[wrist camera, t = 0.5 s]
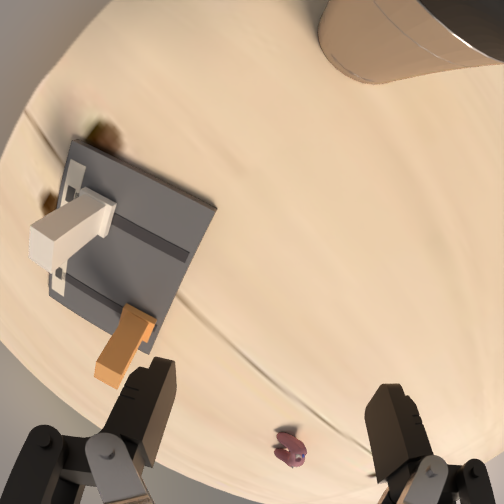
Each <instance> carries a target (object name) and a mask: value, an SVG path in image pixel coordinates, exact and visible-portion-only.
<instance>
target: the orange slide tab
mask: <svg viewBox="0 0 504 504" xmlns="http://www.w3.org/2000/svg"><path fill="white" fill-rule="evenodd" d="M156 321H157V319H156V318H154V317H152V316H150V315H148V314H146V313H144V312H142V311H140V310H138V309H137V308H135V307H133V306H131V305H129V304H127V303H126V304H125V306H124V307H123V310H122V314H121V317H120V321H119V325H118V327H117V329H116V330H115V332H114V334H113V335H112V337H111V338H110V340H109V341H108V343H107V345H106V346H105V348H104V349H103V351H102V353H101V354H100V356H99V358H98V359H97V361H96V366H95V373H94V377H95V378H97V379H99V380H100V381H102V382H104V383H106V384H108V385H109V386H111V387H113V388H115V389H118V387H119V385H120V383H121V381H122V379H123V377H124V375H125V373H126V371H127V369H128V367H129V365H130V363H131V361H132V359H133V357H134V355H135V353H136V351H137V349H138V347H139V346H140V344H141V342H142V341H144V342H146V343H147V342H148V340H149V338H150V336H151V333H152V331H153V328H154V326H155V323H156Z"/></svg>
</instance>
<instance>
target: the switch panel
mask: <svg viewBox="0 0 504 504" xmlns="http://www.w3.org/2000/svg"><path fill="white" fill-rule="evenodd" d="M84 187H87V188H89V189H91V190H93V191H95V192H96V193H98V194H100V195H102V196H104V197H106V198H108V199H109V200H111V201H113V202H115V203H117V204H116V208H115V211H114V214H113V218H112V221H111V225H110V229H109V232H108V235H107V236H105V237H104V238H102V237H101V236H99V235H96V236H95V237H94V238H93V239H91V240H90V241H89V242H88V243H87V244H85V245H84V246H83V247H82V248H81V249H79V250H78V251H77V252H76V253H75V254H73V255H72V256H71V257H70V258H69V259H68V260H66V261H65V262H64V263H63V264H62V265H61V266H60V267H59V268H57V269H56V270H55V271H54V272H53V273H52V274H50V278H49V296H50V297H52V298H53V299H55V300H56V301H58V302H59V303H61V304H62V305H64V306H65V307H67V308H68V309H70V310H71V311H73V312H74V313H76V314H77V315H79V316H81V317H82V318H84V319H85V320H87V321H89V322H90V323H92V324H94V325H95V326H97V327H99V328H100V329H102V330H104V331H105V332H107V333H109V334H111V335H113V334H114V332H115V330H116V329H117V327H118V325H119V321H120V317H121V314H122V310H123V307H124V306H125V304H126V303H127V304H129V305H131V306H133V307H135V308H137V309H138V310H140V311H142V312H144V313H146V314H148V315H150V316H152V317H154V318H156V319H157V321H156V323H155V326H154V328H153V331H152V333H151V336H150V338H149V340H148V342H147V343H146V342H144V341H142V342H141V344H140V346H139V347H138V350H140V351H142V352H144V353H146V354H148V355H149V354H150V351H151V349H152V347H153V345H154V342H155V340H156V338H157V335H158V333H159V331H160V328H161V326H162V324H163V322H164V319H165V317H166V315H167V313H168V310H169V308H170V306H171V304H172V302H173V299H174V297H175V295H176V293H177V291H178V289H179V286H180V284H181V282H182V280H183V278H184V276H185V274H186V271H187V269H188V267H189V265H190V263H191V261H192V259H193V257H194V255H195V253H196V251H197V249H198V247H199V244H200V242H201V240H202V238H203V236H204V234H205V232H206V230H207V228H208V226H209V224H210V222H211V220H212V218H213V216H214V214H215V213H216V211H217V208H215V207H213V206H211V205H209V204H207V203H205V202H203V201H201V200H199V199H197V198H196V197H194V196H192V195H190V194H188V193H186V192H184V191H182V190H180V189H178V188H176V187H174V186H172V185H170V184H168V183H166V182H164V181H162V180H160V179H158V178H156V177H154V176H152V175H150V174H148V173H146V172H144V171H142V170H140V169H138V168H136V167H134V166H132V165H130V164H128V163H126V162H124V161H122V160H120V159H117V158H115V157H113V156H111V155H109V154H107V153H105V152H103V151H101V150H99V149H97V148H95V147H93V146H91V145H88V144H86V143H84V142H82V141H80V140H78V139H76V140H72V142H71V146H70V150H69V153H68V157H67V161H66V165H65V170H64V174H63V179H62V183H61V188H60V193H59V199H58V205H57V209H58V208H60V207H62V206H63V205H65V204H67V203H69V202H71V201H72V200H74V199H76V198H78V197H79V193H80V189H82V188H84Z"/></svg>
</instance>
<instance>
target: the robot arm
mask: <svg viewBox="0 0 504 504" xmlns="http://www.w3.org/2000/svg"><path fill="white" fill-rule="evenodd" d="M318 37H319V43H320V45H321V48H322V50H323V52H324V54H325V55H326V57H327V58H328V60H329V61H330V62H331V63H332V64H333V65H334V67H335V68H336V69H338V70H339V71H340V72H342V73H343V74H344V75H346V76H348V77H350V78H352V79H354V80H356V81H359V82H362V83H367V84H385V83H389V82H393V81H397V80H402V79H407V78H412V77H416V76H421V75H426V74H432V73H437V72H443V71H449V70H456V69H463V68H471V67H479V66H487V65H499V64H504V0H329V2H328V4H327V6H326V8H325V10H324V13H323V15H322V17H321V20H320V22H319V25H318ZM176 388H177V384H176V368H175V361H173V360H169V359H164V358H160V357H154V359H153V360H152V362H151V365H150V367H149V369H147V368H144V367H138V368H137V369H136V370H135V371H134V372H132V373H131V374H130V375H129V377H128V379H127V381H126V383H125V385H124V387H123V389H122V391H121V393H120V396H119V397H118V399H117V401H116V403H115V405H114V407H113V409H112V411H111V413H110V415H109V418H108V420H107V422H106V424H105V426H104V428H103V429H102V430H101V431H100V432H99V433H98V434H95V435H93V436H91V437H86V438H81V437H72V436H65V435H61V434H60V433H59V432H58V430H57V429H55V428H54V427H52V426H49V425H39V426H36V427H35V428H33V429H32V430H31V431H30V433H29V435H28V437H27V439H26V441H25V443H24V445H23V447H22V449H21V451H20V453H19V456H18V458H17V460H16V462H15V465H14V467H13V469H12V471H11V474H10V476H9V478H8V481H7V483H6V486H5V488H4V491H3V493H2V496H1V499H0V504H80V501H81V498H82V494H83V491H84V488H85V485H87V486H94V487H97V488H98V491H99V494H100V496H101V498H102V501H103V503H104V504H155V503H154V501H153V499H152V497H151V495H150V493H149V491H148V489H147V488H146V485H145V483H144V481H143V479H142V477H141V475H142V472H143V469H144V466H147V467H151V468H153V465H154V462H155V459H156V455H157V452H158V449H159V446H160V443H161V440H162V436H163V433H164V430H165V427H166V424H167V421H168V418H169V415H170V412H171V409H172V406H173V403H174V399H175V395H176ZM365 423H366V427H367V432H368V436H369V441H370V446H371V451H372V456H373V461H374V466H375V472H376V477H377V483H378V484H381V483H387V482H388V487H387V488H386V490H385V491H384V493H383V495H382V496H381V498H380V500H379V502H378V503H377V504H456V501H457V500H459V499H460V503H461V504H496V503H495V499H494V495H493V491H492V487H491V483H490V480H489V476H488V472H487V469H486V466H485V464H484V463H483V462H482V461H480V460H479V459H471V460H469V461H468V462H466V463H465V464H464V465H463V466H462V465H448V464H446V462H445V461H444V460H443V459H442V458H441V457H439V456H436V455H434V454H433V452H432V449H431V446H430V443H429V440H428V437H427V434H426V431H425V428H424V425H423V424H422V420H421V417H420V416H419V412H418V409H417V406H416V404H415V403H414V402H413V400H412V399H411V398H410V397H409V396H408V395H407V396H405V394H404V391H403V389H402V386H401V385H400V384H381V385H380V386H379V388H378V390H377V391H376V393H375V394H374V396H373V397H372V399H371V400H370V402H369V403H368V405H367V407H366V409H365Z"/></svg>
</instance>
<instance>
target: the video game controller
mask: <svg viewBox="0 0 504 504" xmlns="http://www.w3.org/2000/svg"><path fill="white" fill-rule="evenodd" d="M277 440H278V441H279V442H280V443H281V444H283V445H284V446H286V447H287V448H288V450H289V451H287V450H284V449H279V448H278V449H275V451H274V454H275V456H276V457H277V458H279V459H280V460H282V461H283V462H285V463H286V464H287V465H288V466H290V467H292V468H293V467H298V466H301V465H303V463H304V461H305V455H306V454H307V450H306V447H305V445H304V444H303V442H302V441H300V440H298V439H297V438H295V437H294V436H292V435H290V434H288V433H284V432H279V433H278V434H277Z"/></svg>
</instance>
